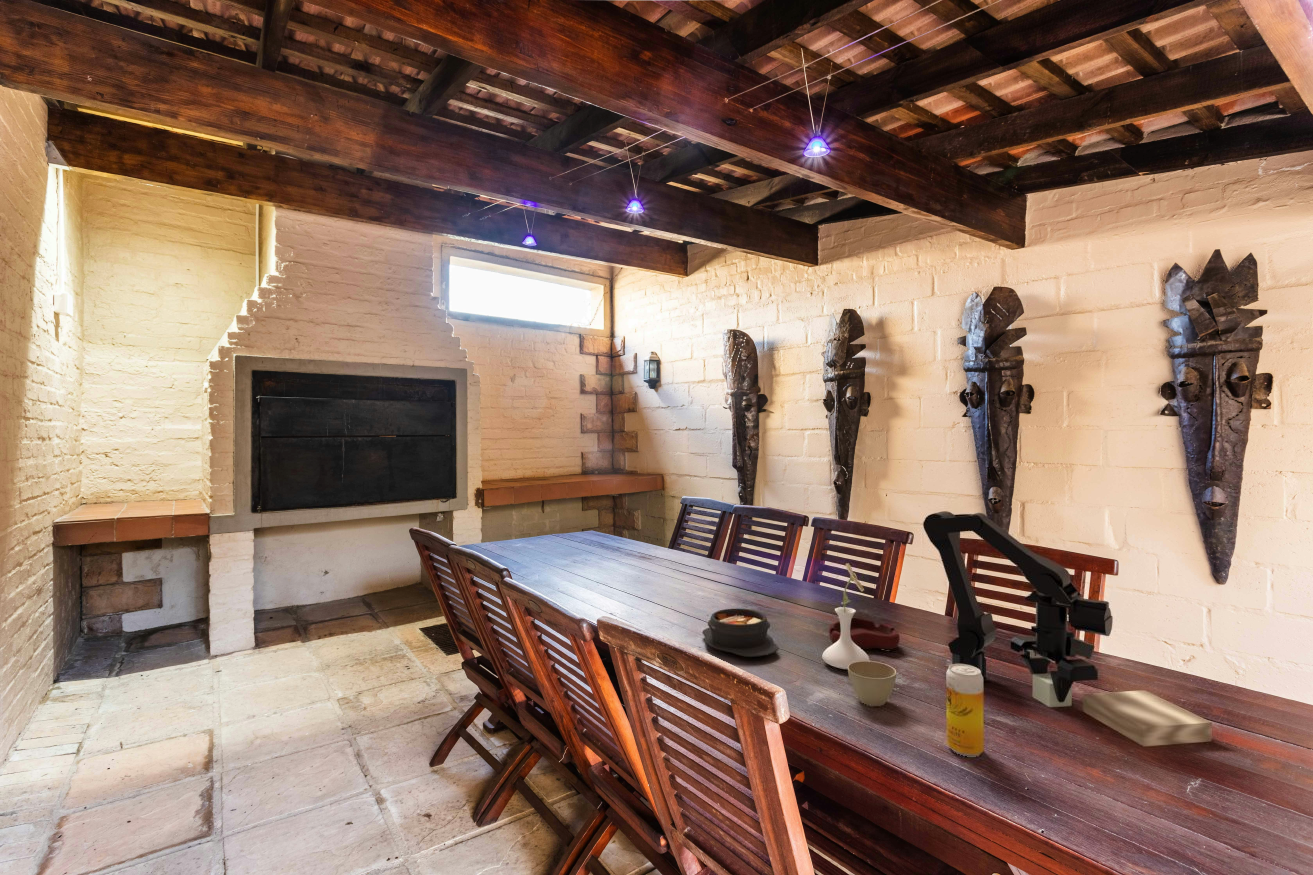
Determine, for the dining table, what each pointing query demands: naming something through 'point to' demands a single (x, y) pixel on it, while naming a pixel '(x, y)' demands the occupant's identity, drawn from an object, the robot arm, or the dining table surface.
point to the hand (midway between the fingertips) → (1051, 696)
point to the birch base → (1147, 718)
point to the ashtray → (867, 634)
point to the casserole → (740, 632)
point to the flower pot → (872, 681)
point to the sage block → (1047, 691)
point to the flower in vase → (845, 635)
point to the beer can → (965, 710)
